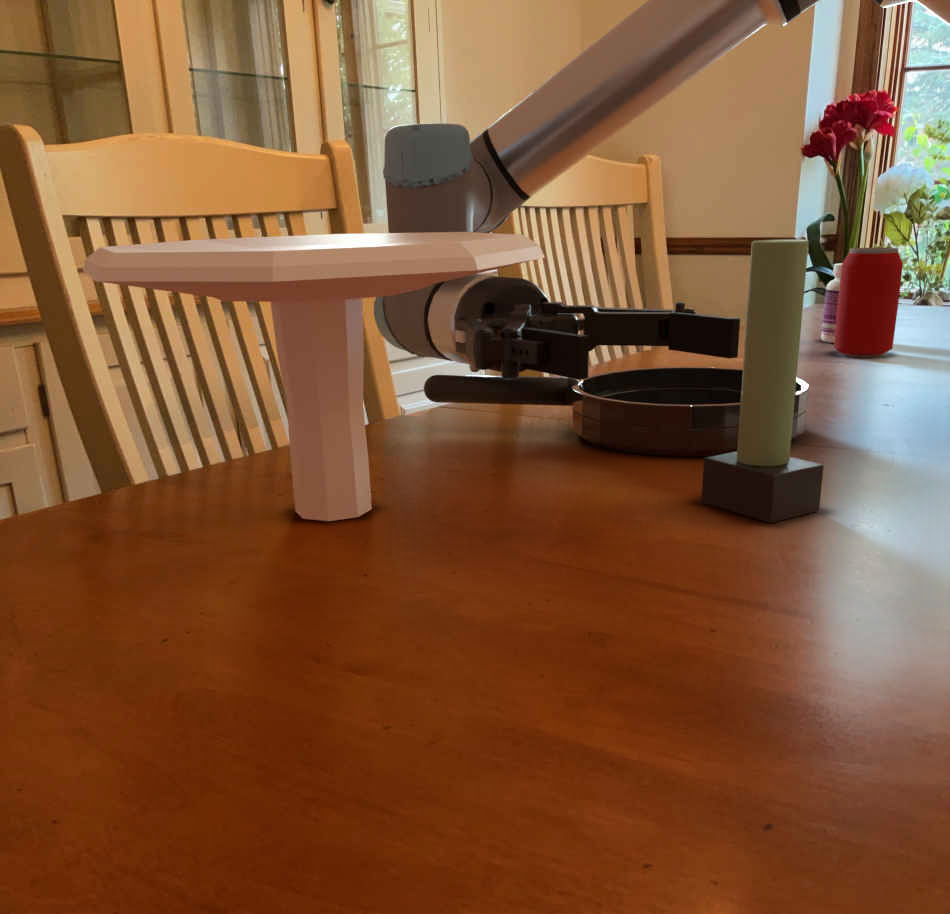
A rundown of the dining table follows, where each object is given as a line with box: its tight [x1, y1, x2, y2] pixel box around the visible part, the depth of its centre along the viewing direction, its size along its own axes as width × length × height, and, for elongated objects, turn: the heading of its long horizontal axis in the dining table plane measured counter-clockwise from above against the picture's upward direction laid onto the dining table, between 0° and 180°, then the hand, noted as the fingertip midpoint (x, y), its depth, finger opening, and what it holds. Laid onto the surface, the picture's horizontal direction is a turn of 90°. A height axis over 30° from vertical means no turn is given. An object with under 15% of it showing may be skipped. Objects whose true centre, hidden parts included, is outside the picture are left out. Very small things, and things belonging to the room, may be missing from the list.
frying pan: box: [570, 366, 809, 457], centre depth 87 cm, size 19×19×4 cm
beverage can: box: [833, 246, 904, 358], centre depth 124 cm, size 7×7×12 cm
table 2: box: [82, 232, 546, 522], centre depth 66 cm, size 28×28×17 cm
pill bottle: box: [820, 262, 843, 344], centre depth 135 cm, size 5×5×10 cm
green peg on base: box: [701, 239, 825, 524], centre depth 64 cm, size 6×4×16 cm
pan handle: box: [423, 374, 583, 407], centre depth 91 cm, size 14×2×2 cm, turn 73°
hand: (663, 347), depth 71 cm, fingers open, 13 cm apart
